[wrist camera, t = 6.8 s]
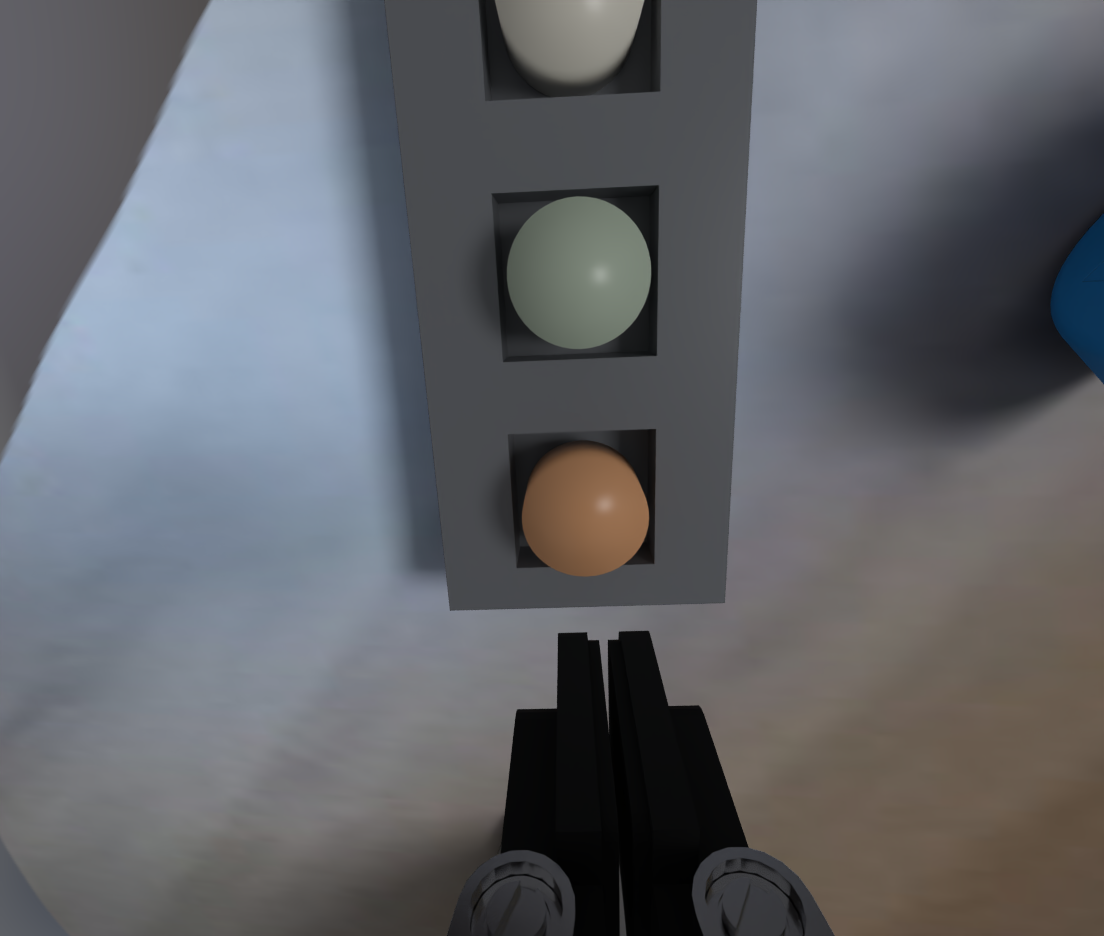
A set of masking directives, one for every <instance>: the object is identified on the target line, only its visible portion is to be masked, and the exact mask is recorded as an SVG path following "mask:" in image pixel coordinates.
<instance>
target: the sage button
mask: <svg viewBox="0 0 1104 936" xmlns="http://www.w3.org/2000/svg"><path fill="white" fill-rule="evenodd" d="M650 282H651V261H650V256H649V251H648V248H647V245H646V242H645V240H644V238H643V236H642V233H641V232H640V230H639V229H638V227H637V226H636V224H635V223H634V222H633V221H632V220H631V218H630V217H629V216H627V215H626V214H625V213H624V212H623V211H622V210H620V209H619V208H617V207H616V206H614V205H612V204H610V203H608V202H606V201H603V200H600V199H597V198H592V197H580V196H576V197H568V198H564V199H560V200H557V201H554V202H552V203H550V204H548V205H546V206H544V207H543V208H541V209H539V210H538V211H537V212H536V213H534V214H533V215H532V216H531V217H530V218H529V219H528V220H527V221H526V222H525V224H524V225H523V226H522V228H521V229H520V230H519V232H518V234H517V236H516V238H515V239H514V242H513V244H512V247H511V250H510V254H509V258H508V264H507V284H508V290H509V294H510V298H511V301H512V303H513V306H514V308H515V310H516V312H517V314H518V315H519V317H520V318H521V320H522V321H523V322H524V324H525V325H526V326H527V327H528V328H529V329H530V330H531V331H532V332H533V333H535V334H536V335H537V336H538V337H540V338H542V339H543V340H545V341H547V342H549V343H551V344H553V345H557V346H560V347H564V348H570V349H586V348H592V347H596V346H600V345H602V344H605V343H607V342H609V341H611V340H613V339H615V338H616V337H618V336H619V335H620V334H622V333H623V332H624V331H625V330H626V329H627V328H628V327H629V326H630V325H631V324H632V323H633V322H634V321H635V319H636V318H637V316H638V315H639V313H640V312H641V310H642V308H643V306H644V304H645V302H646V298H647V295H648V292H649V288H650Z"/></svg>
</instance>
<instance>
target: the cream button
mask: <svg viewBox="0 0 1104 936" xmlns="http://www.w3.org/2000/svg"><path fill="white" fill-rule="evenodd" d="M495 3H496V8H497V12H498V16H499V21H500V25H501V30H502V34H503V38H504V43H505V47H506V50H507V53H508V56H509V58H510V60H511V62H512V64H513V66H514V67H515V69H516V70H517V72H518V73H519V75H520V76H521V77H522V78H523V79H524V80H525V81H526V82H527V83H528V84H529V85H530V86H531V87H533V88H534V89H536V90H537V91H538V92H540V93H542V94H544V95H547V96H550V97H570V96H588V95H591V94H593V93H596V92H597V91H599V90H600V89H602V88H604V87H605V86H606V85H607V84H608V83H610V82H611V81H612V80H613V78H614V77H615V76H616V75H617V74H618V73H619V71H620V70H621V68H622V67H623V65H624V63H625V61H626V60H627V58H628V55H629V53H630V50H631V47H632V44H633V40H634V37H635V33H636V29H637V26H638V22H639V18H640V15H641V11H642V7H643V4H644V0H495Z"/></svg>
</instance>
